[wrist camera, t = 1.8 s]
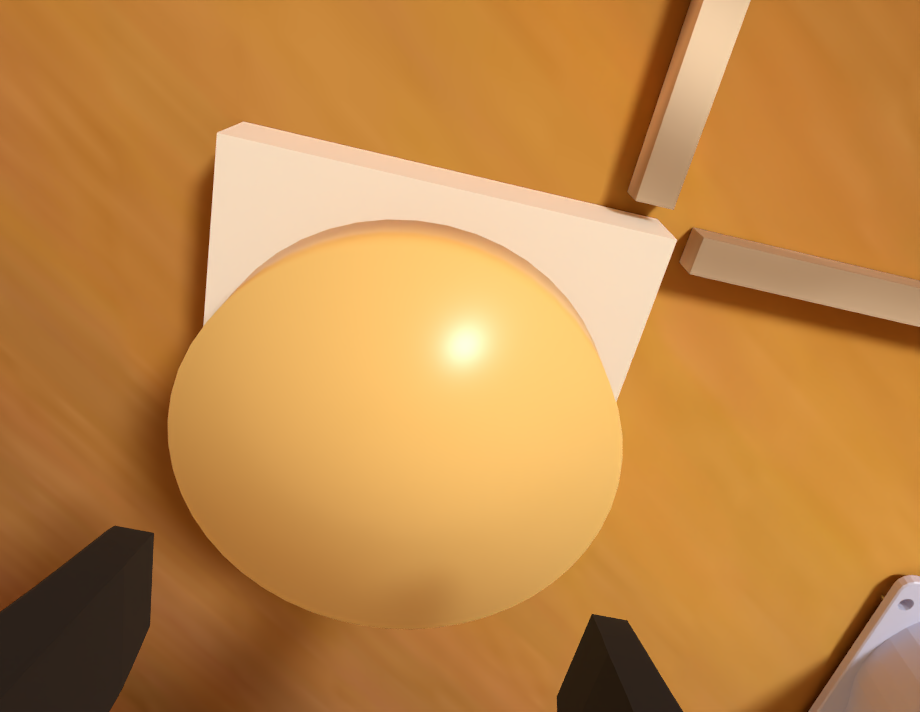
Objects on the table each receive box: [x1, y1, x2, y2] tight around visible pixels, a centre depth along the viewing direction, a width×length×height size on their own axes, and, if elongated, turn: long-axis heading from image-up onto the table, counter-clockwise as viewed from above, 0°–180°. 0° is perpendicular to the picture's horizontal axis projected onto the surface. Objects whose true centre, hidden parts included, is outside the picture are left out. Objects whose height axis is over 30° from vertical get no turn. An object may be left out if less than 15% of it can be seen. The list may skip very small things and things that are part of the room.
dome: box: [168, 219, 622, 629], centre depth 17 cm, size 10×10×4 cm
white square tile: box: [203, 122, 677, 401], centre depth 19 cm, size 11×11×2 cm
